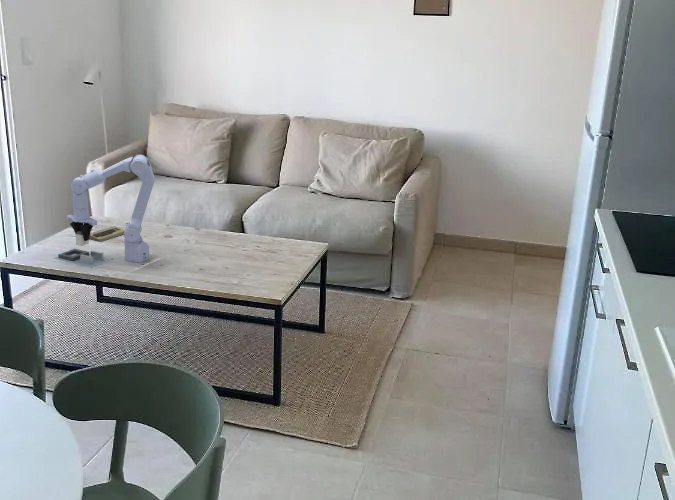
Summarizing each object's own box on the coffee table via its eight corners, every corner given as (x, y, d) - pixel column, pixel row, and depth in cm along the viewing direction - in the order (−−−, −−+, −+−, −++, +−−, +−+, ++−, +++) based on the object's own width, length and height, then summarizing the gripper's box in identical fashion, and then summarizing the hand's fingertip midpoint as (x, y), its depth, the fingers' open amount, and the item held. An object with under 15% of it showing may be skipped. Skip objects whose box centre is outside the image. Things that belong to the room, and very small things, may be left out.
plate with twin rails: (103, 259, 297) (103, 253, 296) (91, 264, 291) (91, 257, 290) (92, 257, 299) (92, 250, 298) (80, 262, 294) (80, 255, 293)
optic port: (89, 255, 302) (88, 251, 301) (73, 261, 294) (72, 257, 293) (74, 251, 305) (74, 247, 304) (58, 257, 297) (58, 253, 297)
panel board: (113, 261, 299) (113, 259, 298) (91, 270, 288) (91, 267, 288) (75, 252, 307) (74, 250, 307) (53, 260, 297) (53, 258, 296)
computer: (99, 243, 321) (98, 236, 320) (86, 240, 325) (86, 233, 324) (125, 235, 334) (125, 228, 332) (113, 231, 337) (113, 225, 336)
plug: (88, 243, 295) (88, 230, 294) (81, 246, 292) (80, 233, 290) (83, 242, 297) (82, 229, 295) (76, 244, 293) (75, 231, 291)
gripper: (59, 206, 289) (62, 239, 294) (87, 212, 283) (89, 245, 288) (72, 203, 295) (75, 234, 300) (100, 208, 289) (102, 240, 294)
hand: (83, 239), depth 294 cm, fingers closed on plug, 3 cm apart
